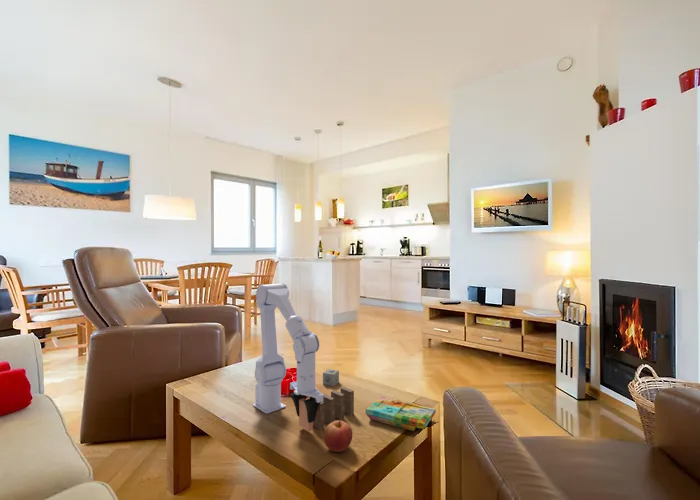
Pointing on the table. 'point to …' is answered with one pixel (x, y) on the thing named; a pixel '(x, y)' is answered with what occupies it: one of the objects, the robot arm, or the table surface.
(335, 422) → the apple
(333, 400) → the domino
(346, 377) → the table surface
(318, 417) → the domino
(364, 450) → the table surface
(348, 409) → the domino
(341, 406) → the domino
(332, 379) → the dice cube
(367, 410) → the puzzle game
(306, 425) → the domino
